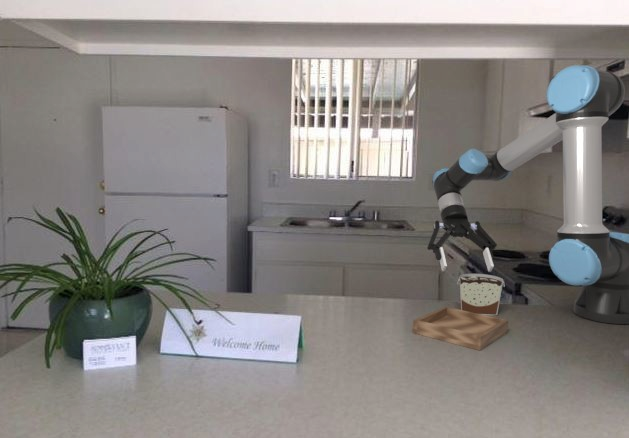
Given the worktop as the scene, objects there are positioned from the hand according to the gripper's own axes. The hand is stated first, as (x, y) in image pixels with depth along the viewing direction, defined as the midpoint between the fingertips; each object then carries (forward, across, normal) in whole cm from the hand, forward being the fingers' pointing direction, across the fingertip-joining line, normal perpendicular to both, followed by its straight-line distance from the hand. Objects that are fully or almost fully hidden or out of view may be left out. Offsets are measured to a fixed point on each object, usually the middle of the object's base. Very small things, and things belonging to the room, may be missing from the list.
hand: (467, 268), depth 142 cm
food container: (+12, -1, -3) cm, 12 cm away
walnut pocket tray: (+24, +10, +9) cm, 28 cm away
